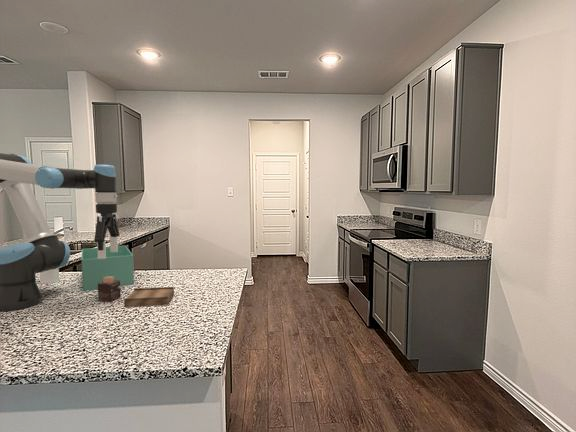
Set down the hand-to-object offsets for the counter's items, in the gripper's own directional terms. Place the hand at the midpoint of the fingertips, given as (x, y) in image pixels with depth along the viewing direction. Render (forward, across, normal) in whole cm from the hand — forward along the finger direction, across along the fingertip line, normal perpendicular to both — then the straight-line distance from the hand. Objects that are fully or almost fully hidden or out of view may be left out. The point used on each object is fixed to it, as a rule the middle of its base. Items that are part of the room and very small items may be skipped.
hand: (108, 255), depth 134 cm
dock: (+18, -4, -17) cm, 25 cm away
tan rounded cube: (+11, 0, 0) cm, 11 cm away
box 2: (+19, 0, 0) cm, 19 cm away
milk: (+19, +32, +38) cm, 53 cm away
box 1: (+19, +32, +12) cm, 39 cm away
